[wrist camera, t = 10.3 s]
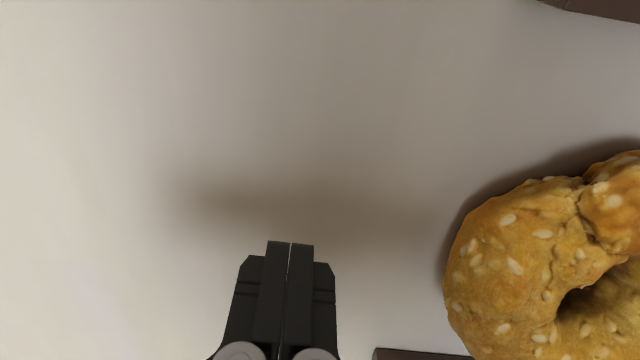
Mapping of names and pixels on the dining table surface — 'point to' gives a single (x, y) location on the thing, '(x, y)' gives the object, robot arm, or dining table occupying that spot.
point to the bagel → (551, 268)
